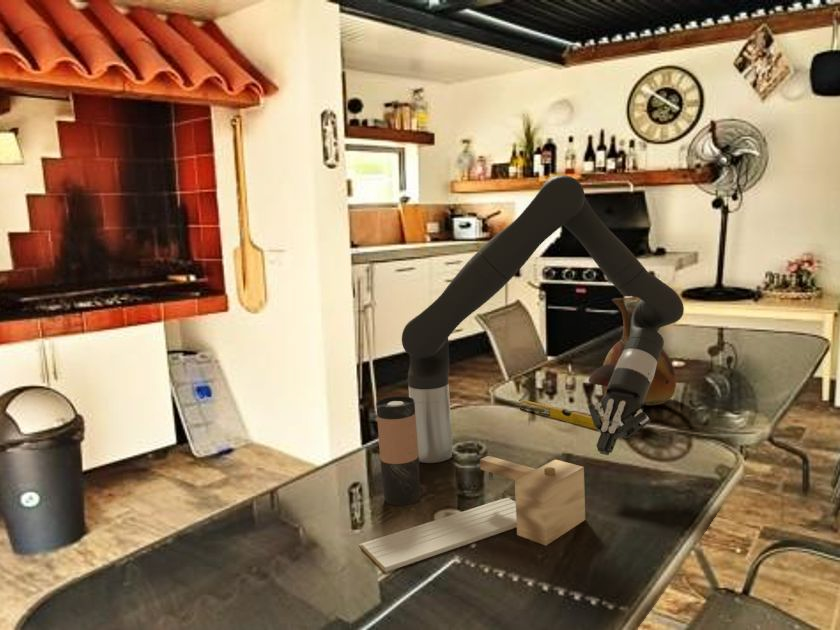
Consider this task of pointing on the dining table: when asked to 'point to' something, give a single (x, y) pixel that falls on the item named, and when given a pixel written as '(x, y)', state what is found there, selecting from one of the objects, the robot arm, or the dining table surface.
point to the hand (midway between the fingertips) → (602, 452)
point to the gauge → (543, 496)
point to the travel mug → (398, 450)
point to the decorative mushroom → (602, 376)
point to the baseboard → (442, 534)
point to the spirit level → (564, 415)
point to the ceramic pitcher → (664, 372)
